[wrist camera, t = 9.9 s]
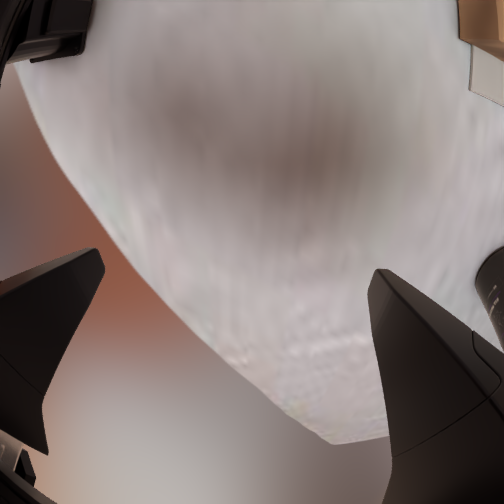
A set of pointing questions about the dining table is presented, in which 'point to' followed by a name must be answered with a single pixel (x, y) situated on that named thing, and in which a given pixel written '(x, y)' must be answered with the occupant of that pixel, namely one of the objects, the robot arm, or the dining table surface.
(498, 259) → the supplement bottle
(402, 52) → the dining table surface
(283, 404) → the dining table surface
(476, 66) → the felt pad
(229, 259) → the dining table surface
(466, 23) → the walnut block
